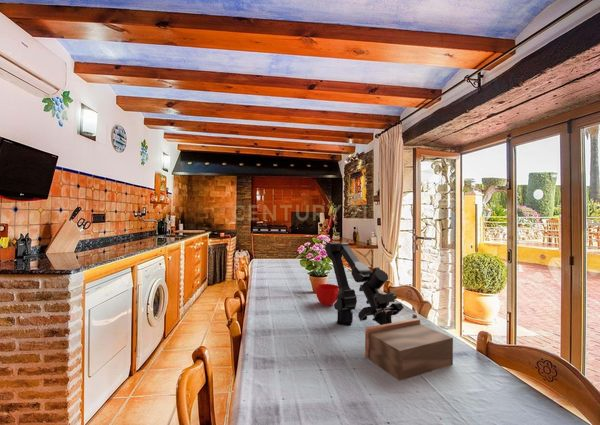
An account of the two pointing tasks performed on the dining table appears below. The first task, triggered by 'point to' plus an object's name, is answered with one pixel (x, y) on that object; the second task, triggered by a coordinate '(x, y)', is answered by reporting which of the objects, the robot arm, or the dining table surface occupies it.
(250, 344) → the dining table surface
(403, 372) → the cabinet
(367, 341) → the drawer
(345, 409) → the dining table surface
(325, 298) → the ceramic cup
